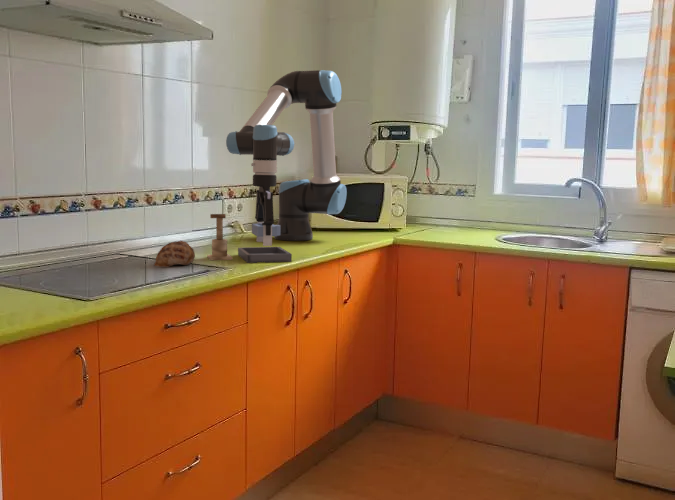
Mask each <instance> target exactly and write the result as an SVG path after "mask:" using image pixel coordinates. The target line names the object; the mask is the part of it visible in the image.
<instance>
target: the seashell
mask: <svg viewBox="0 0 675 500" xmlns="http://www.w3.org/2000/svg"><path fill="white" fill-rule="evenodd" d="M195 257H196V254H195V251H194V248H193V247H192V246H191V245H190V244H189V243H188V242H186V241H184V240H179V241H172V242H169V243H167V244H165V245H163V246H162V247H161V248H160V249H159V251H158V252H157V254H156V258H155V262H154V264H153V266H155V267H162V268H163V267H165V268H167V267H172V266H175V265H182V266H188V265H190V264H192V263H193V262H194V260H195Z"/></svg>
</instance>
